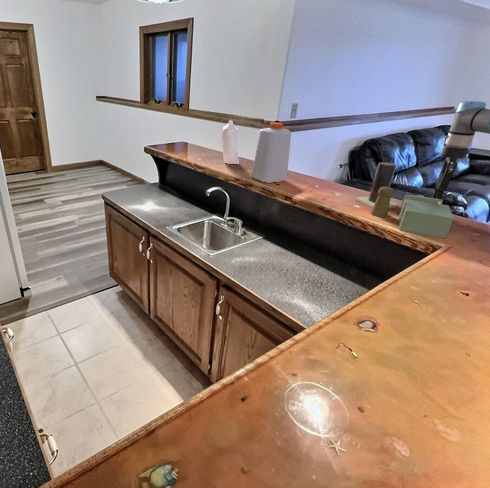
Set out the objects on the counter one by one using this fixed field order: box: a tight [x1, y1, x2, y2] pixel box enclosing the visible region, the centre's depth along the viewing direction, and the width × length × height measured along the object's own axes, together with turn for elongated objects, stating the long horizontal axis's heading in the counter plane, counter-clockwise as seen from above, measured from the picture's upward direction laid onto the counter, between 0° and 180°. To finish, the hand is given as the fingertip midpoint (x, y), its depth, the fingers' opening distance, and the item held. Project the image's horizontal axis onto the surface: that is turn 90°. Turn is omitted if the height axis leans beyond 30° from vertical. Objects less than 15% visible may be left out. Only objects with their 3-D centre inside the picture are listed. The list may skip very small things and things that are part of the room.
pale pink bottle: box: [221, 119, 240, 165], centre depth 207 cm, size 12×11×25 cm
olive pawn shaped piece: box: [370, 186, 395, 218], centre depth 137 cm, size 6×6×11 cm
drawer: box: [400, 193, 444, 209], centre depth 136 cm, size 18×12×6 cm
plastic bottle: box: [251, 122, 292, 184], centre depth 176 cm, size 15×15×28 cm
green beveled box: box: [398, 199, 455, 240], centre depth 126 cm, size 15×14×8 cm
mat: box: [354, 196, 400, 209], centre depth 151 cm, size 12×12×1 cm
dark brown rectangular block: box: [368, 161, 397, 203], centre depth 147 cm, size 6×6×16 cm
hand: (433, 206), depth 140 cm, fingers closed
